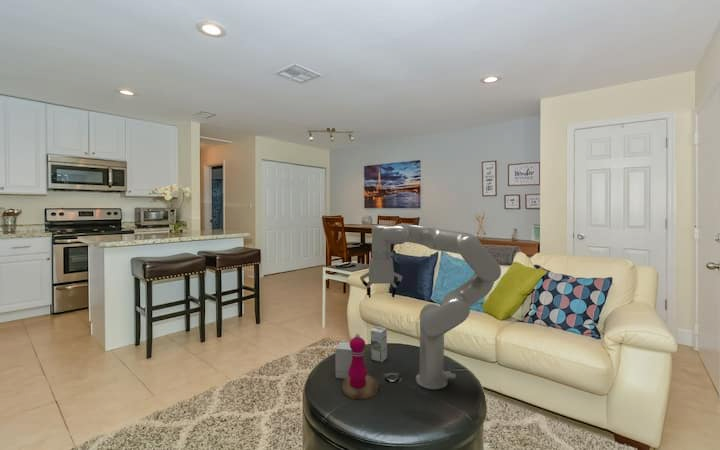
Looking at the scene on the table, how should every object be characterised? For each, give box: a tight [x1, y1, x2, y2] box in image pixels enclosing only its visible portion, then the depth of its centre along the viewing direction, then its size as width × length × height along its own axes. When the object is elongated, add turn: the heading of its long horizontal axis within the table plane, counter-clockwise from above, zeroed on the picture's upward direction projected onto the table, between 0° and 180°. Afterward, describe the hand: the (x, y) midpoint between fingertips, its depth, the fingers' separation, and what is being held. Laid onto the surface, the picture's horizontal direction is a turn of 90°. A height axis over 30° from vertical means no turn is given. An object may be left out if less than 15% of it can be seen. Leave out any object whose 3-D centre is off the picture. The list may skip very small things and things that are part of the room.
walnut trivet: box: [341, 374, 379, 400], centre depth 140 cm, size 14×14×2 cm
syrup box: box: [370, 325, 388, 363], centre depth 165 cm, size 6×6×14 cm
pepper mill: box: [348, 333, 368, 388], centre depth 138 cm, size 7×7×20 cm
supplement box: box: [334, 341, 352, 380], centre depth 151 cm, size 7×7×13 cm
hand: (381, 296), depth 146 cm, fingers open, 9 cm apart
